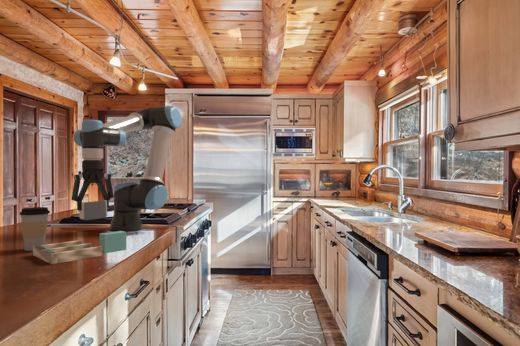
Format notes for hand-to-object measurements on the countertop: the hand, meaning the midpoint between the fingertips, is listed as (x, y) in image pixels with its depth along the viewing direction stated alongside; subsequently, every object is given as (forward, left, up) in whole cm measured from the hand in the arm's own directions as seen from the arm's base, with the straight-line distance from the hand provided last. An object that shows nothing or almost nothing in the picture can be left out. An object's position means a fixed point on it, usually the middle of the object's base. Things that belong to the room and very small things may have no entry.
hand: (93, 217), depth 137 cm
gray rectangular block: (0, 0, 0) cm, 0 cm away
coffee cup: (+19, -6, -11) cm, 22 cm away
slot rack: (+14, +13, -10) cm, 22 cm away
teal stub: (+1, +17, -11) cm, 20 cm away
